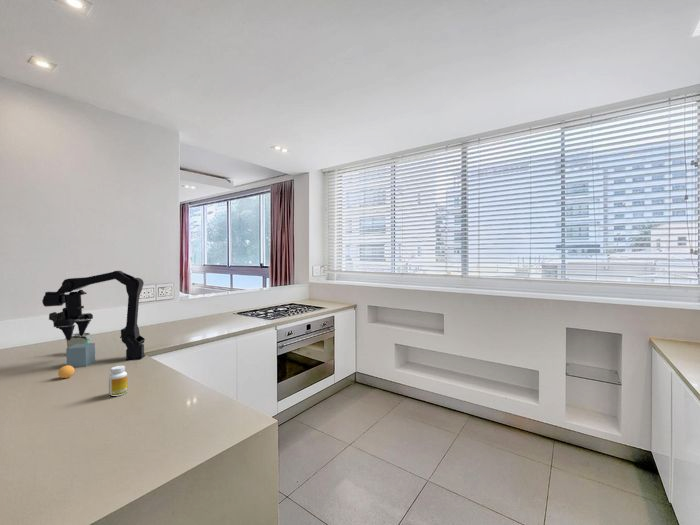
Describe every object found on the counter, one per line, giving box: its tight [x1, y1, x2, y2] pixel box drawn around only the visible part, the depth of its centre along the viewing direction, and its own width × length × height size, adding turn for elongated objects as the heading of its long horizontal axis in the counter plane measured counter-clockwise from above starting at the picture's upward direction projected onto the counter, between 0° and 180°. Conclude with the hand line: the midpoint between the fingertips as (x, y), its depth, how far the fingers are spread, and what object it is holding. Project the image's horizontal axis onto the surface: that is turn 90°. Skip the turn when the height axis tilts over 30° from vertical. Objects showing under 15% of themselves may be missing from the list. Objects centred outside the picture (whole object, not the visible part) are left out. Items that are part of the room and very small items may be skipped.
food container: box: [65, 332, 92, 348], centre depth 165 cm, size 12×6×10 cm, turn 84°
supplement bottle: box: [108, 365, 128, 396], centre depth 113 cm, size 5×5×10 cm
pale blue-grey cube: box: [65, 342, 96, 368], centre depth 146 cm, size 8×8×9 cm
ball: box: [57, 364, 75, 379], centre depth 130 cm, size 5×5×5 cm
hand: (75, 337), depth 148 cm, fingers open, 9 cm apart
